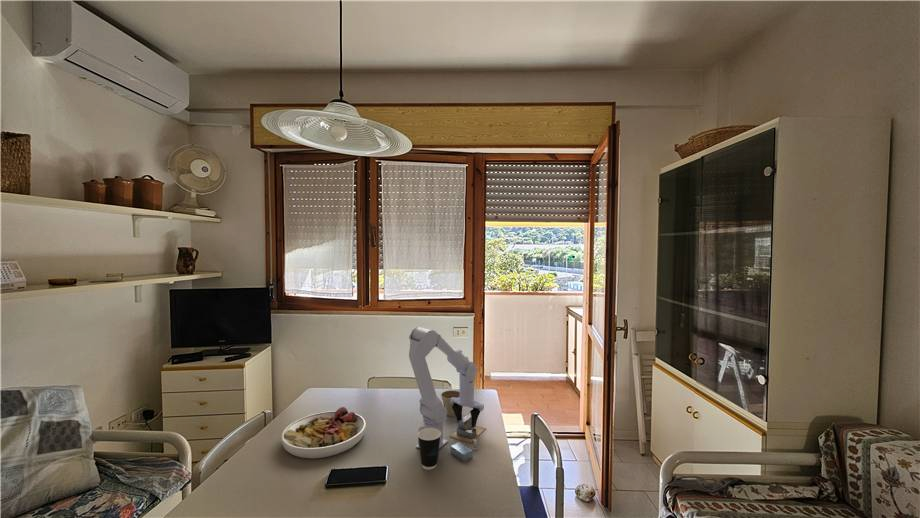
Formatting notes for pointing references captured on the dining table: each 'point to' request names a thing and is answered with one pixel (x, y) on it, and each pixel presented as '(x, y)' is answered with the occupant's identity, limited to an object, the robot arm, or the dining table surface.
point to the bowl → (324, 434)
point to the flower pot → (446, 401)
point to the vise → (463, 450)
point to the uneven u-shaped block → (466, 428)
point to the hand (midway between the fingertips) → (466, 424)
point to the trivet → (454, 435)
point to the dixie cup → (429, 447)
